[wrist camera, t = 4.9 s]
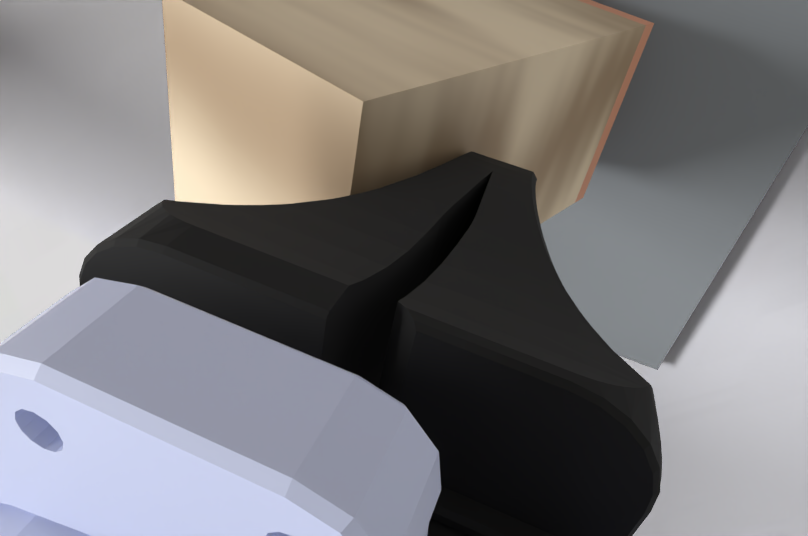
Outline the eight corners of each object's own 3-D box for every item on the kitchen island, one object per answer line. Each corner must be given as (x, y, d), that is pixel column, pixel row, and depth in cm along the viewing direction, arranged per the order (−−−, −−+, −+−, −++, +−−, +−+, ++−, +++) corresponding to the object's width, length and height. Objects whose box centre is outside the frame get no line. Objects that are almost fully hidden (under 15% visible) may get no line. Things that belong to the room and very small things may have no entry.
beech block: (583, 197, 18) (328, 354, 12) (451, 127, 20) (176, 224, 14) (654, 23, 15) (363, 101, 8) (490, -37, 17) (161, -12, 11)
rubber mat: (658, 361, 23) (657, 369, 23) (193, 188, 27) (186, 193, 26) (1047, -278, 12) (1058, -281, 12) (167, -422, 16) (154, -429, 15)
